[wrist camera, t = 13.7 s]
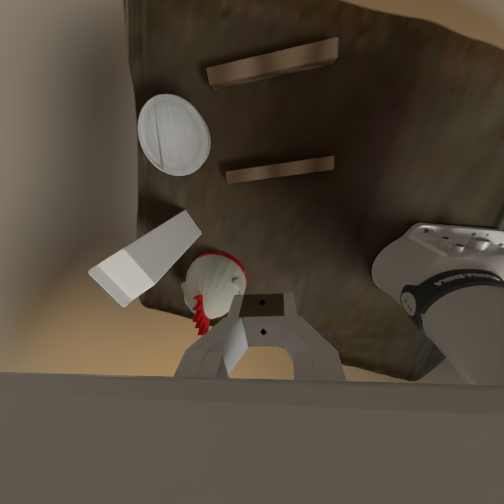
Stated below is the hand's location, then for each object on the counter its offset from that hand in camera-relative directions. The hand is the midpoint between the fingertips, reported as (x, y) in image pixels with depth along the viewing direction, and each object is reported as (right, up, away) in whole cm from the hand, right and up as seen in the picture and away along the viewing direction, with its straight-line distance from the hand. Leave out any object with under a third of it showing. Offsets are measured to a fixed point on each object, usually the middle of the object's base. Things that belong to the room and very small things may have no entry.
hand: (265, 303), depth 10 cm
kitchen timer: (-9, -3, +38) cm, 39 cm away
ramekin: (-13, +23, +26) cm, 36 cm away
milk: (-15, +8, +33) cm, 37 cm away
